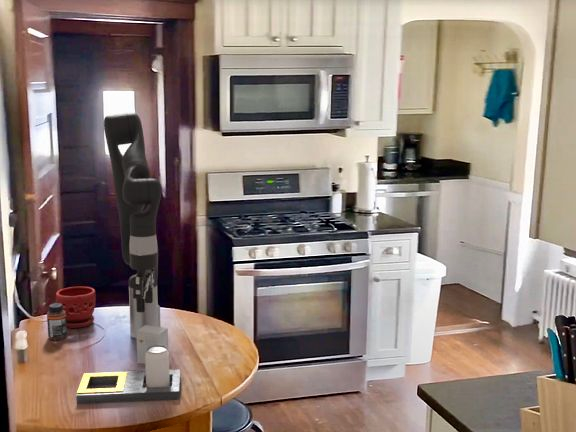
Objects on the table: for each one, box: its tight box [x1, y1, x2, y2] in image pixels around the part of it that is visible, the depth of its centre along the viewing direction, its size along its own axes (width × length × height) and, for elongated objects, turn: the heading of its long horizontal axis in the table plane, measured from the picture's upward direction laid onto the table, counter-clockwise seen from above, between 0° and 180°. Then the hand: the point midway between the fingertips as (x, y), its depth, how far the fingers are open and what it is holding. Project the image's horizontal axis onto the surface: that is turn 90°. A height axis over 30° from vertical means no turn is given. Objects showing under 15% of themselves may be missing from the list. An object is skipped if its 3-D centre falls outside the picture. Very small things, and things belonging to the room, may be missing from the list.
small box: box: [135, 325, 170, 365], centre depth 214 cm, size 8×6×10 cm
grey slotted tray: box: [75, 369, 181, 405], centre depth 196 cm, size 27×14×3 cm, turn 97°
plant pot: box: [55, 286, 96, 329], centre depth 245 cm, size 13×13×12 cm
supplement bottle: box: [46, 302, 68, 341], centre depth 232 cm, size 6×6×11 cm
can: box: [145, 345, 171, 388], centre depth 196 cm, size 6×6×12 cm
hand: (144, 307), depth 197 cm, fingers open, 8 cm apart
